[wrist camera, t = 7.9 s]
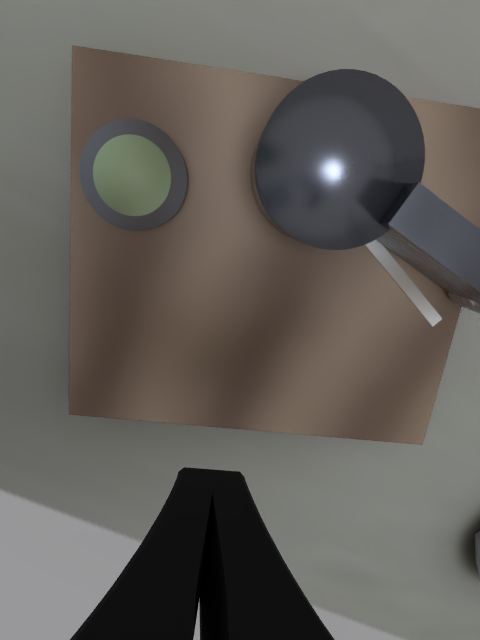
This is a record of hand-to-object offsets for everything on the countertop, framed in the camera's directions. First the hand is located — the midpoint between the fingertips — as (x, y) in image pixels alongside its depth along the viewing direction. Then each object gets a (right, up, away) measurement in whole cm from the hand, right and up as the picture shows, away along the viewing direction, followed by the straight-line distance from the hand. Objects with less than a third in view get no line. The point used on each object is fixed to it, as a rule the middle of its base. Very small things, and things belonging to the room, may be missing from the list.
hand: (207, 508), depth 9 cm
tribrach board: (+2, +6, +8) cm, 10 cm away
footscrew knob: (+6, +8, +6) cm, 12 cm away
